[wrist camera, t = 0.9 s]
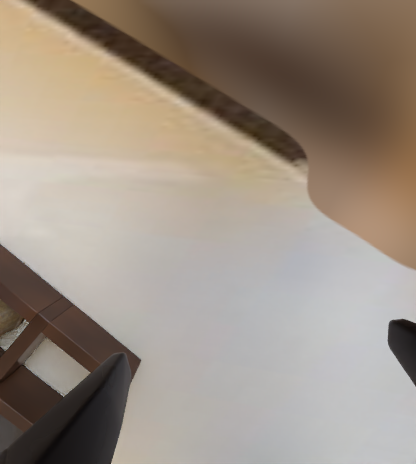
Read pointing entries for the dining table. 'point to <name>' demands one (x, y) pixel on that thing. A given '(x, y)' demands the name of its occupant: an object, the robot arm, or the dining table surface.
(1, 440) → the slate board
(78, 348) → the spice rack
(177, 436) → the dining table surface
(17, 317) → the sprinkles bottle
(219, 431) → the dining table surface
